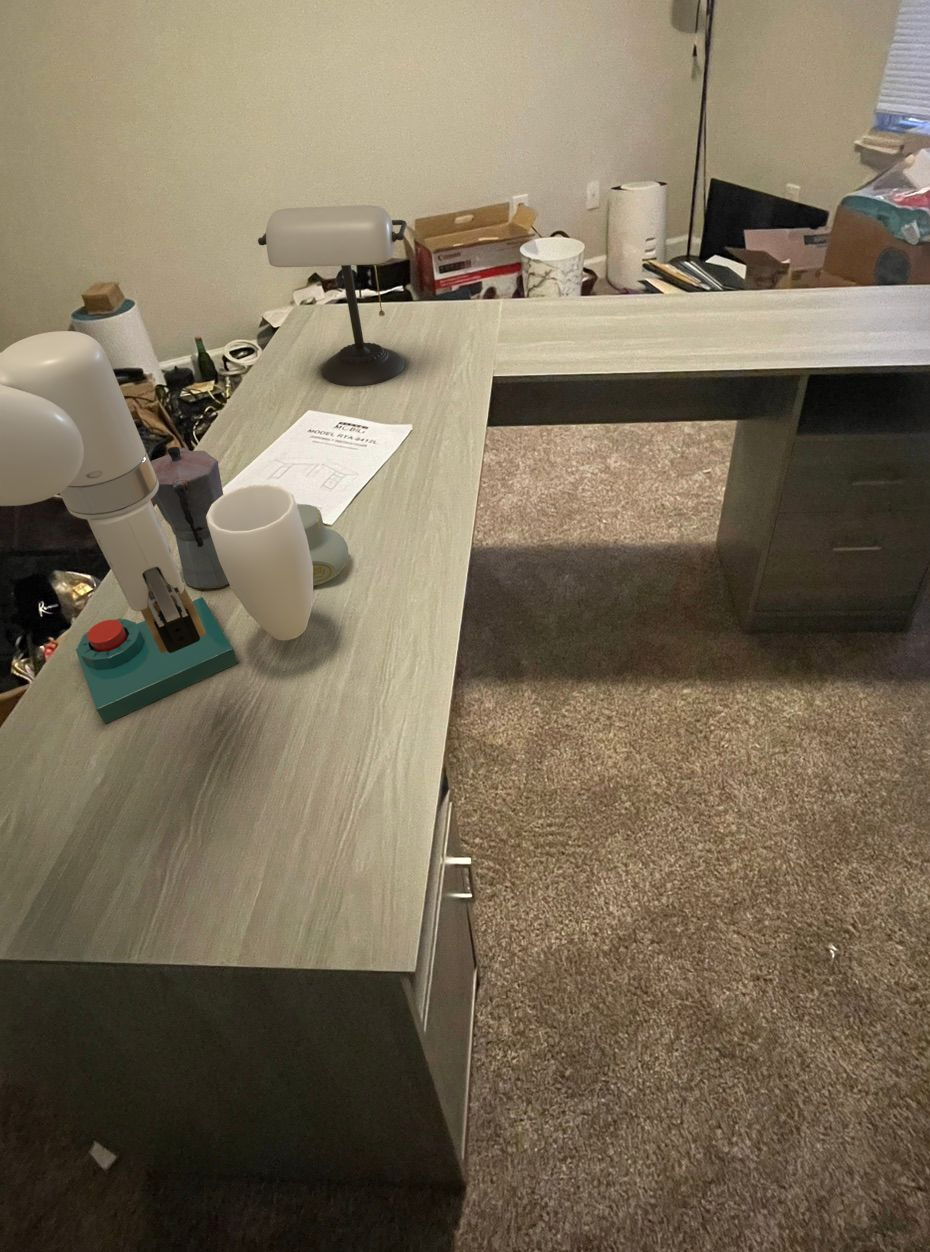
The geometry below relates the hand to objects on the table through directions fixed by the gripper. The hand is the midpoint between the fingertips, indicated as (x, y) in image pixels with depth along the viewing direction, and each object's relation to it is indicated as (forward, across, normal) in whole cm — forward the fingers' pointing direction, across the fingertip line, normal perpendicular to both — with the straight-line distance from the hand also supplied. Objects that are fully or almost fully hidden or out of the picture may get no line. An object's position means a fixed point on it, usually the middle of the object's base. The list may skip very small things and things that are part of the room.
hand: (176, 629), depth 75 cm
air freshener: (+16, -19, +20) cm, 32 cm away
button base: (+16, -14, -3) cm, 21 cm away
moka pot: (+16, -28, +9) cm, 33 cm away
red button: (+12, -17, -7) cm, 22 cm away
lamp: (+16, -74, +55) cm, 94 cm away
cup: (+16, -7, +12) cm, 21 cm away
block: (0, 0, 0) cm, 0 cm away
